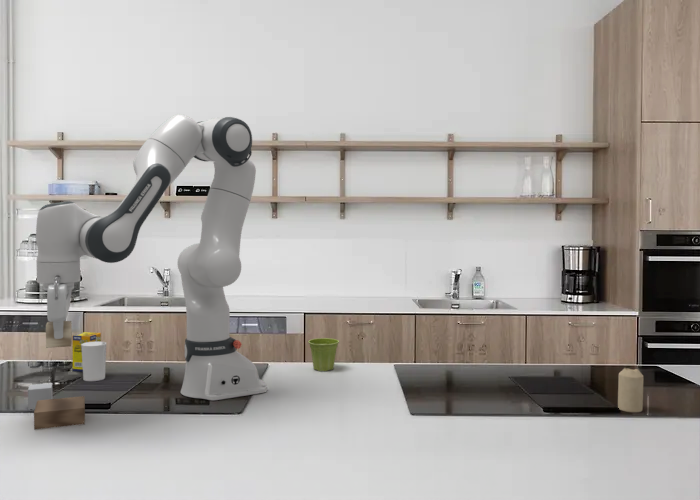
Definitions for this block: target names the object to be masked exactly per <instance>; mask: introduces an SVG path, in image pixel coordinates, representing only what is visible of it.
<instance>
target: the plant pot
mask: <svg viewBox="0 0 700 500" xmlns="http://www.w3.org/2000/svg"><path fill="white" fill-rule="evenodd" d="M307 342H308V344H309V348H310V351H311V358H312V365H313V366H312V367H313V370H314V371H315V370H316V371H317V372H328V371H332V370H334V369H335V368H334V367H335V359H336V353H337V348H338V345H339V344H340V341H339V339H335V338H327V337H324V338H323V337H322V338H320V337H319V338H312V339H309V340H308V341H307Z"/></svg>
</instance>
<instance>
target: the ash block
mask: <svg viewBox="0 0 700 500" xmlns="http://www.w3.org/2000/svg"><path fill="white" fill-rule="evenodd" d="M72 324H73V323H72V320H65V321H64V325H63V338H61V339H55V338H54V328H53V322H49V321H47V322H46V324H45V349H49V348H50V349H53V348H68V347H72V336H73V334H72V332H73V331H72Z"/></svg>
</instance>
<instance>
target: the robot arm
mask: <svg viewBox="0 0 700 500" xmlns="http://www.w3.org/2000/svg"><path fill="white" fill-rule="evenodd" d="M252 146H253V134H252V131H251V128H250V127H249V125H248V124H247V123H246V122H245V121H244V120H243V119H240V118H237V117H234V116H226V117H214V118H213V117H212V118H210V119H206V120H204V121H198V122H196V120H194V119H193V118H191V117H190V116H187V115H185V114H180V113H179V114H178V113H177V114H174V115H172V116H170V117H168V118H167V119H166V120H165V121H164V122H163V123H162V124H160V126H158V127H157V128H156V129H155V130H154V131H153V132H152V134H150V136H149V137H148V138H147V139H146V140H145V141H144V142H143V144H142V145H141V147H140V149H138V151H137V154H136V155H135V157H134V160H133V163H132V164H133V170H134V173H135V175H136V180H135V182H134V184H133V186H131V188H130V190H129V192H128V193H127V194H126V195H125V197H124V198H123V199H122V201H121V202H120V203H119V205H118V206H117V208H116V209H115V210H114V211H113V212H112V213H111V212H110V213H109V214H108V215H105V216H100V215H98V214H96V213H92V212H90V211H88V210H86V209H84V208H82V207H81V206H79V205H78V204H77V203H76V202H74V201H70V200H69V201H60V202H59V201H58V202H55V203H54V202H53V203H47V204H45V205H43V206H42V207H40V208H39V210H38V213H37V217H36V226H35V227H36V228H35V243H36V245H37V250H38V251H37V252H38V253H37V257H36V283H38V284H42V289H43V291H46V292H47V293H46V297H47V298H46V314H47V315H46V316H47V322H53V328H54V338H55V339H61V338H63V325H64V321H67V317H68V313H69V310H70V307H71V302H72V301H71V300H72V294H73V293H72V292H73V290H74V289H75V283H78V282H80V281H81V257H83V256H86V257H90V258H93V259H96V260H99V261H101V262H104V263H107V264H108V263H110V264H115V263H119V262H121V261H123V260H126V258H128V257H129V256H130V255H131V254H132V252H133V250H134V249H135V246H136V243H137V240H138V235H139V233H140V230H141V228H142V225H143V224H144V222H145V221H146V220H147V218H148V217H149V215H150V214H151V212H152V211H153V209H154V208H155V207H156V205H157V204H158V202H159V201H160V199H161V198H162V196H163V195H164V193H165V192H166V191H167V189H168V188H169V187H170V186H171V184H173V183H174V181H176V180H177V178H178V177H179V176H180V175H181V173H182V172H183V171H184V170H185V168H186V167H187V166H188V164H189V163H190V161H191V160H192V159H193V158H195V159H196V160H199V161H201V162H212V163H213V167H214V175H213V180H212V182H211V184H210V187H209V190H208V193H207V197H206V200H205V203H204V205H203V209H202V212H201V215H200V216H201V217H200V220H201V230H200V231H201V233H200V240H199V243H194V244H191V245H188V246H187V247H186V248H184V249H183V250H182V251H181V252H180V254H179V255H178V257H177V269H178V271H179V273H180V278H181V284H182V290H183V291H182V292H183V295H184V302H185V309H186V310H185V311H186V338H185V339H184V340H185V341H184V358H185V369H184V376H183V381H182V386H181V389H180V394H181V395H183V396H184V397H188V398H193V399H203V400H208V401H218V400H227V399H232V398H239V397H244V396H250V395H257V394H263V393H266V392H267V391H268V384H267V383H266V382H265V381H264V380H262V379H261V378H260V377H259V371H258V368H257V366H256V365H255V363H254V362H253V361H251V360H250V359H249V358H248V357H246V356H245V355H243V354H242V353H241V352H239V351H237V350H239V349H241V347H242V345H243V344H242V342H241V341H240V340H239V339H236V338H233V337H231V336H230V331H231V330H230V329H231V328H230V327H231V326H230V322H231V321H230V317H231V316H230V313H231V312H230V311H231V310H230V306H229V304H228V301H227V300H226V299H227V298H226V296H225V291H224V287H228V286H231V285H232V284H234V283H235V282H236V281H237V279H239V277H240V275H241V272H242V261H241V259H240V252H241V251H240V250H241V238H242V230H243V227H244V223H245V220H246V216H247V212H248V209H249V206H250V204H251V200H252V196H253V193H254V188H255V183H256V172H257V170H256V169H257V168H256V165H255V164H254V162H253V161H252V160H251V159H250V158H251V156H252V153H253V151H252V148H253V147H252Z"/></svg>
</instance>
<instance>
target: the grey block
mask: <svg viewBox="0 0 700 500" xmlns="http://www.w3.org/2000/svg"><path fill="white" fill-rule="evenodd" d="M48 399H54V398H53V383H52V382H47V383H35V384H29V386H28V389H27V411H31V410H30V409H35V407H36V404H37V401H38V400H48Z"/></svg>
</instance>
